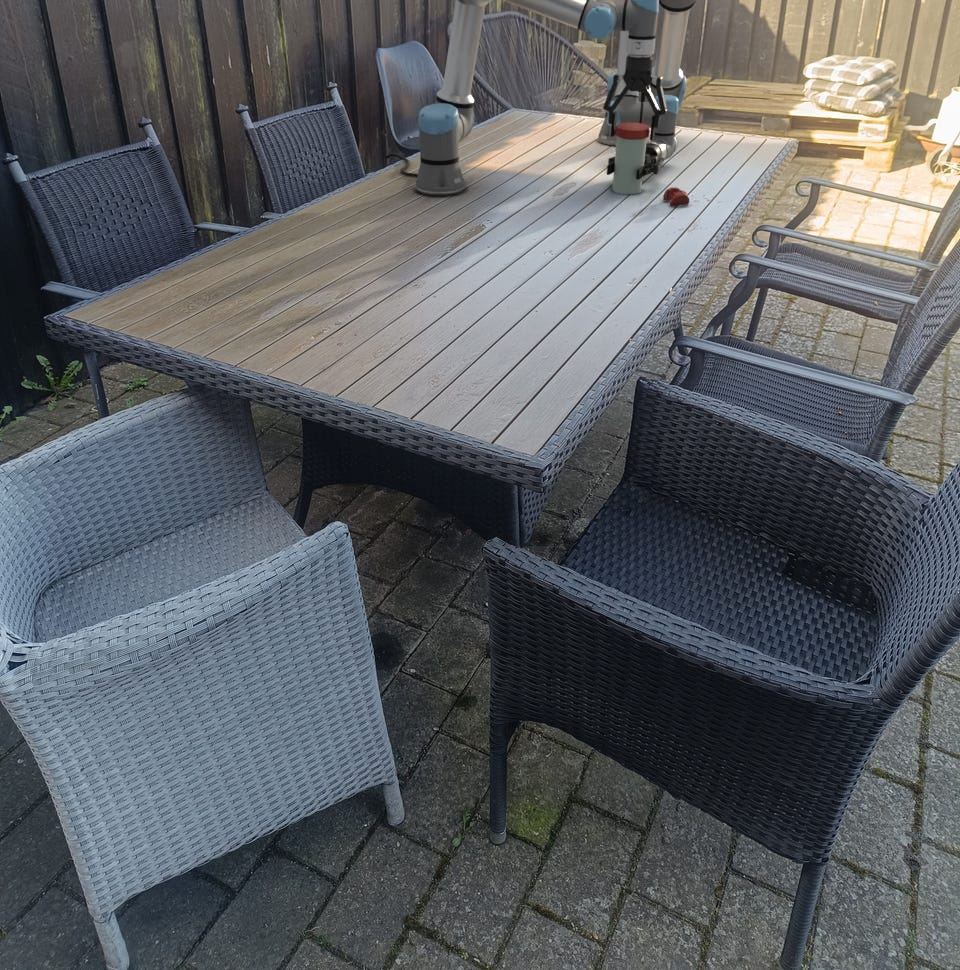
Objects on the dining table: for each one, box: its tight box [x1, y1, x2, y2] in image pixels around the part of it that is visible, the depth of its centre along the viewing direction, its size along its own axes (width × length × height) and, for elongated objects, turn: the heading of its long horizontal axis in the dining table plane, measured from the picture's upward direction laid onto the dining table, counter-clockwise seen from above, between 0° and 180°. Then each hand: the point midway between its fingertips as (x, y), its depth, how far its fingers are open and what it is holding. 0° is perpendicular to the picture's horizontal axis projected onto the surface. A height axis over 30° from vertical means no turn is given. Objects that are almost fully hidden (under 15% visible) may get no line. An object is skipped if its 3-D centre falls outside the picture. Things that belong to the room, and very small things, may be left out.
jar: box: [611, 137, 648, 195], centre depth 253 cm, size 9×9×18 cm
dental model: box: [662, 187, 690, 207], centre depth 246 cm, size 6×4×8 cm
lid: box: [615, 123, 651, 139], centre depth 248 cm, size 10×10×2 cm
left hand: (632, 137), depth 249 cm, fingers open, 11 cm apart
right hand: (622, 172), depth 251 cm, fingers closed on jar, 9 cm apart
